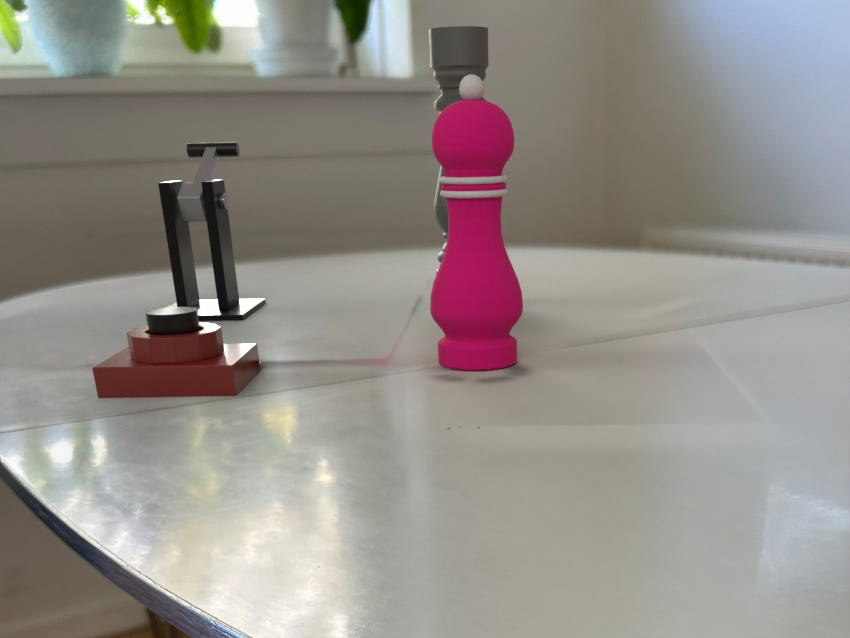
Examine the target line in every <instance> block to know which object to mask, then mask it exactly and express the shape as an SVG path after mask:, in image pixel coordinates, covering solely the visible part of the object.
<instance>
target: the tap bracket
mask: <svg viewBox="0 0 850 638" xmlns="http://www.w3.org/2000/svg"><path fill="white" fill-rule="evenodd" d="M182 183H183V180H181V179H180V180H179V179H178V180H177V179H176V180H174V179H173V180H168V181H160V182H158V183H157V185H158V193H159V197H160V206H161V210H162V216H163V217H162V218H163V222H164V229H165V234H166V236H165V237H166V243H167V249H168V255H169V262H170V268H171V269H170V270H171V276H172V281H173V287H174V289H173V290H174V295H175V302H173V303H171V304H170V305H168V306H165V308H167V307H192V308H196V309H197V314H198V321H199V322H226V321H231V322H232V321H236V322H237V321H238V322H239V321H244V320H247V318H249V317H250V316H251V315H253V314H254V313H256V312H257V311H258V310H260V309H261V308H262V307H263V306H265V305H266V304H267V300H266V298H240V295H239V288H238V279H237V273H236V272H237V271H236V263H235V256H234V248H233V240H232V234H231V233H232V232H231V226H230V225H231V224H230V217H229V216H230V215H229V210H228V208H229V201H228V196H227V193H226V186H225V180H224V179H223V178H221V179H219V178H218V179H216V178H215V179H211V180H209V181H203V182H201V183H202V191H203V198H204V205H205V213H206V220H207V221H206V227H207V235H208V241H209V248H210V255H211V263H212V270H213V278H214V285H215V291H216V299H213V298H212V299H211V298H210V299H200V294H199V293H200V292H199V287H198V286H199V285H198V280H197V273H196V267H195V260H194V253H193V245H192V238H191V231H190V225H189V222H184V221H183V218H182V214H181V211H180V207H179V204H178V200H177V196H178V194H179V191H180V188H181V186H182Z"/></svg>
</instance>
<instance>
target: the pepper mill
mask: <svg viewBox="0 0 850 638" xmlns="http://www.w3.org/2000/svg"><path fill="white" fill-rule="evenodd" d="M459 92H460V95H461V97H462V98H463V99H464V100H463V101H458V102H455V103H453V104H451V105H449V106H448V107H446V108H445V109H444V110H443V111H442V112H441V113H440V112H439V114H438V115H437V117H436V119H435V121H434V123H433V126H432V130H431V150H432V154H433V156H434V157H435V159H436V161H437V162H438V163H439V165H441V166H442V168H443V169H444V172H445V176H443V177H441V178H440V182H441V183H442V184H443V185H442V187H441V188H442V191H441V192H440V195H441V196H442V197H445V198H446V202H447V209H448V217H449V219H448V239H447V245H446V250H445V253H444V256H443V259H442V262H441V263H440V264H439V267H438V268H437V269H438V272H437V275H436V274H435V277H434V280H433V283H432V287H431V292H430V303H429V305H430V306H429V311H430V316H431V318H432V319H433V321H434V323H436V324H437V326H438V327H439V328H440V329H441V330H442V332H443V334H444V336H443V337H441V338H439V340H438V341H437V355H438V357H437V359H438V363H439V365H440V366H441V367H443V368H447V369H450V370H455V371H476V372H477V371H478V372H479V371H493V370H499V369H504V368H505V369H506V368H508V367H511V366H513V365H515V364H516V362H517V361H518V340H517V338H516V337H514V336H512V335H510V333H511V331H512V330H513V328H514V327H515V325H516V324H517V322H518V321H519V320H520V318H521V316H522V315H523V311H524V303H523V301H524V300H523V292H522V289H521V285H520V282H519V279H518V276H517V273H516V271H515V269H514V267H513V264H512V261H511V260H510V257H509V255H508V252H507V249H506V247H505V243H504V237H503V234H502V217H501V215H502V206H503V197H505V196H507V195H508V194H509V191H508V189H507V183H506V182H507V181H508V179H509V178H508V175H506V174H503V171H504V168H505V166H506V164H507V163H508V161H510V158H511V157H512V155H513V152H514V150H515V149H514V148H515V134H514V128H513V124H512V122H511V120H510V118H509V116H508V114H507V113H506V111H504V110H503V109H502V108H501V107H500V106H499V105H497V104H495V103H493V102H491V101H487V100H486V101H484V100H480V99H481V97H484V96H483V95H484V93H485V84H484V81H483V82H482V80H481V79H480V78H479V77H478V76H476V75H472V74H470V75H467V76H465V77H464V78H463V79H462V80H461V82H460V86H459Z"/></svg>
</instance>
